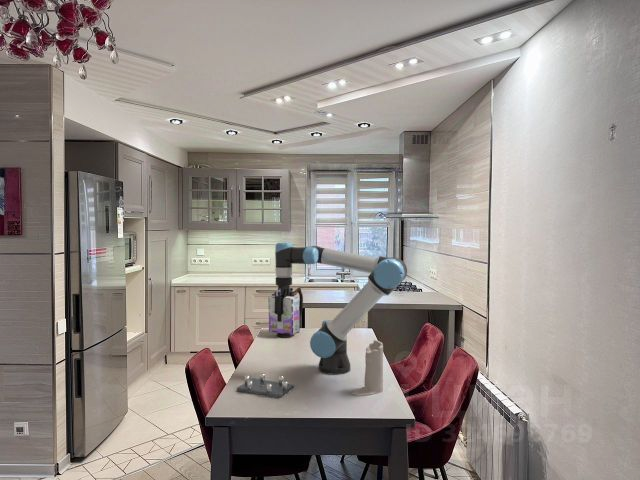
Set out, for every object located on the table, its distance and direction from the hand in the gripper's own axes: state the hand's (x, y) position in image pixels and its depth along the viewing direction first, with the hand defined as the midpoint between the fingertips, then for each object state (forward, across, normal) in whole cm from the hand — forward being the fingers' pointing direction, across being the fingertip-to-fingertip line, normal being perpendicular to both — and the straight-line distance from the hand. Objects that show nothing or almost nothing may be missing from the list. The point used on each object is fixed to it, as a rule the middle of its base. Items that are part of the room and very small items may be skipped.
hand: (284, 326), depth 193 cm
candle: (+22, +6, +41) cm, 47 cm away
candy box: (+3, 0, 0) cm, 3 cm away
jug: (+22, -63, -31) cm, 74 cm away
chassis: (+22, +20, +2) cm, 30 cm away
